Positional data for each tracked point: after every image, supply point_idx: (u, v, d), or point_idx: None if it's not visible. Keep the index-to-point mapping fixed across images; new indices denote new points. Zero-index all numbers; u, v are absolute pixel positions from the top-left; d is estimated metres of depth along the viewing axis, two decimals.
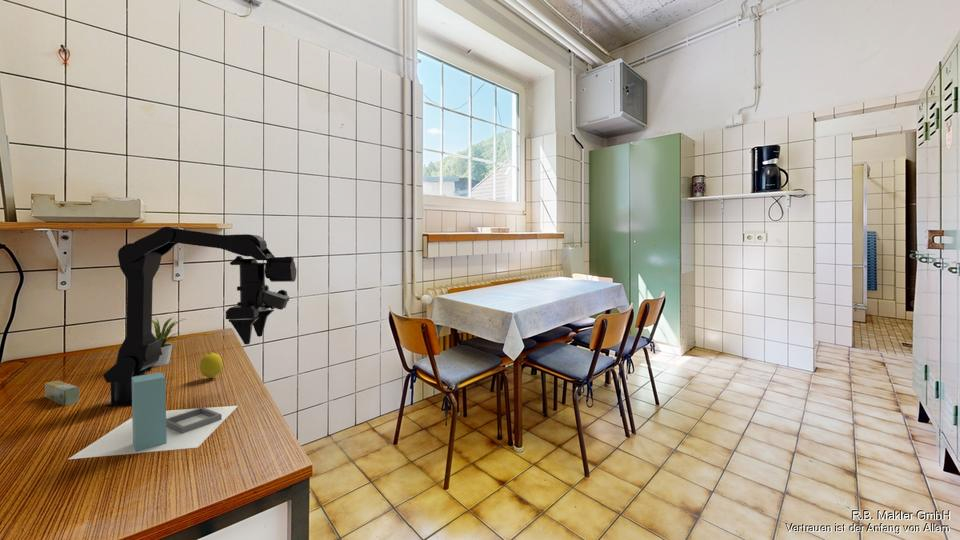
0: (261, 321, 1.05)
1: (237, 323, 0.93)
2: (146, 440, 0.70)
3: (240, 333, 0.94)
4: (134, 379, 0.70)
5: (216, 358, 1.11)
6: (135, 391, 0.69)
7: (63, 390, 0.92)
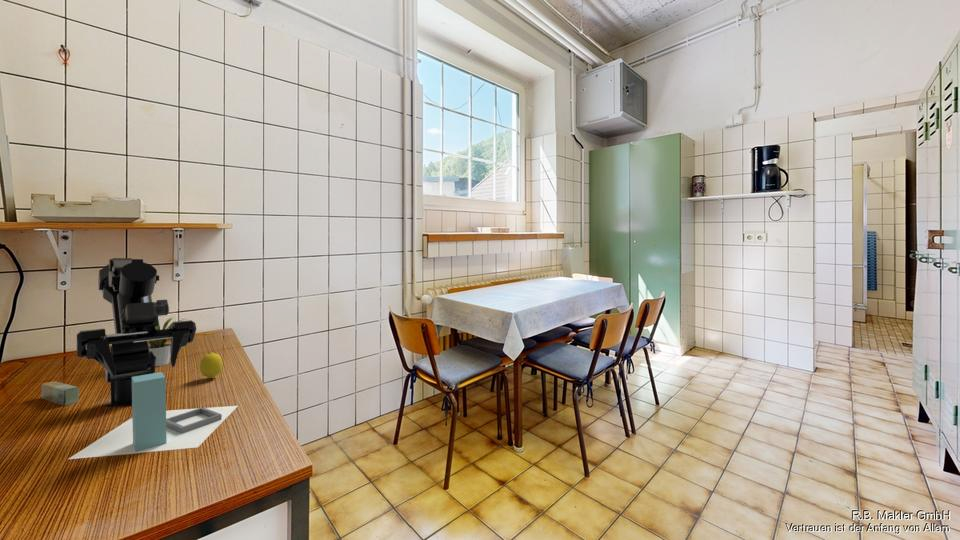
0: (171, 348, 0.82)
1: (98, 357, 0.76)
2: (146, 440, 0.70)
3: (104, 366, 0.75)
4: (134, 379, 0.70)
5: (216, 358, 1.11)
6: (135, 391, 0.69)
7: (63, 390, 0.91)
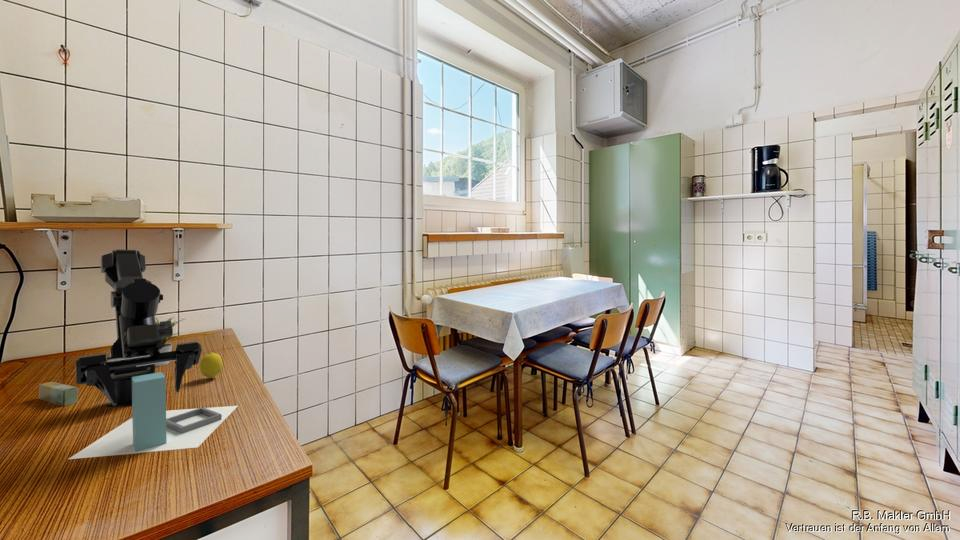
0: (176, 372, 0.78)
1: (99, 383, 0.71)
2: (146, 440, 0.70)
3: (105, 393, 0.70)
4: (134, 379, 0.70)
5: (216, 358, 1.11)
6: (135, 391, 0.69)
7: (62, 390, 0.91)
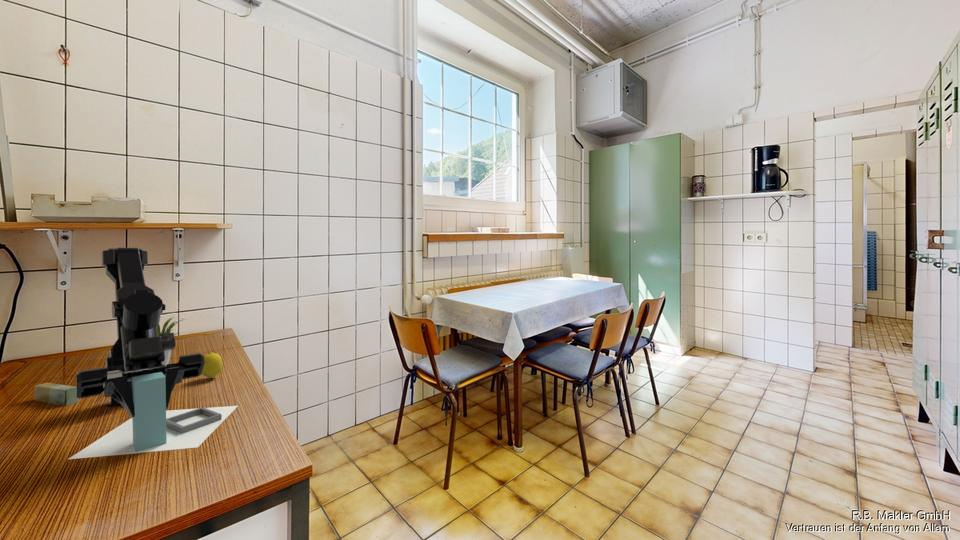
0: None
1: (116, 395, 0.71)
2: (146, 440, 0.70)
3: (123, 405, 0.70)
4: (134, 379, 0.70)
5: (216, 358, 1.11)
6: (135, 391, 0.69)
7: (63, 390, 0.91)
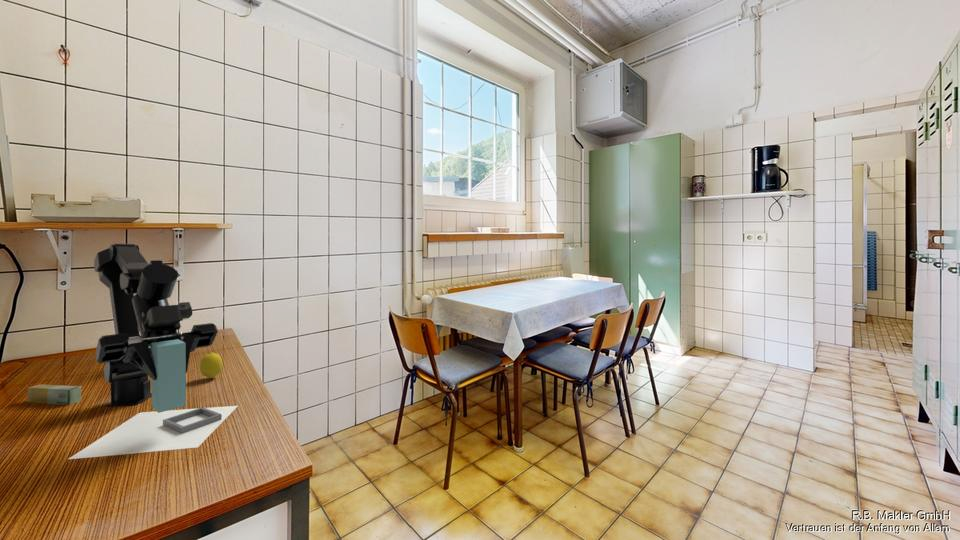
0: None
1: (136, 360, 0.74)
2: (167, 402, 0.74)
3: (144, 369, 0.74)
4: (155, 344, 0.74)
5: (216, 358, 1.11)
6: (158, 355, 0.72)
7: (65, 390, 0.92)
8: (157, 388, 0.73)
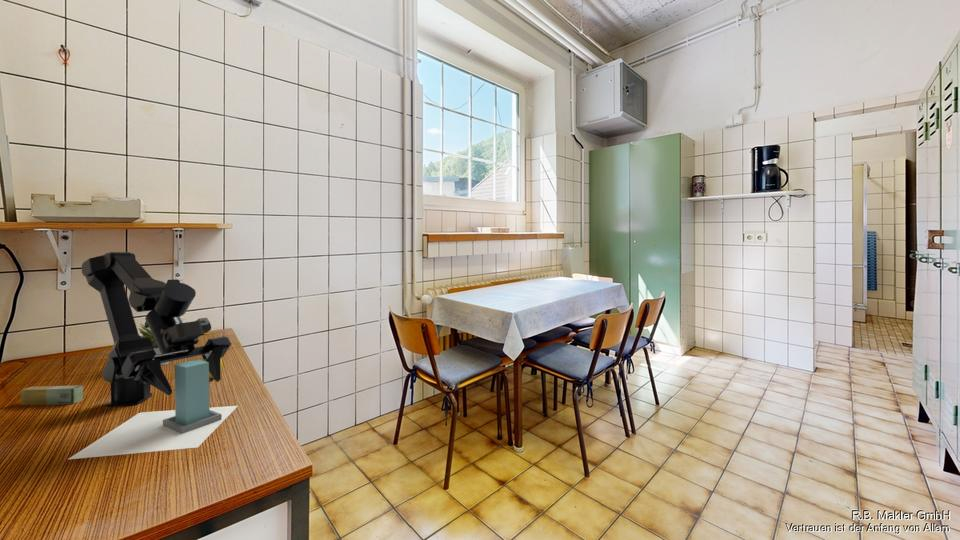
0: (212, 364, 0.86)
1: (147, 377, 0.77)
2: (194, 418, 0.80)
3: (156, 385, 0.77)
4: (181, 365, 0.79)
5: None
6: (186, 375, 0.78)
7: (68, 389, 0.92)
8: (185, 406, 0.78)
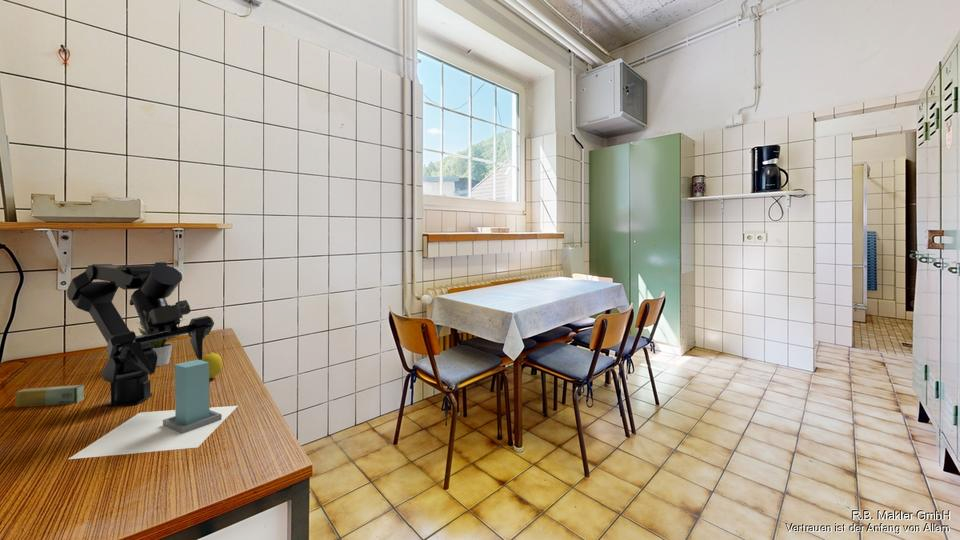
0: (195, 344, 0.90)
1: (130, 357, 0.82)
2: (194, 418, 0.80)
3: (139, 365, 0.82)
4: (181, 365, 0.79)
5: (216, 358, 1.11)
6: (186, 375, 0.78)
7: (71, 389, 0.93)
8: (185, 406, 0.78)
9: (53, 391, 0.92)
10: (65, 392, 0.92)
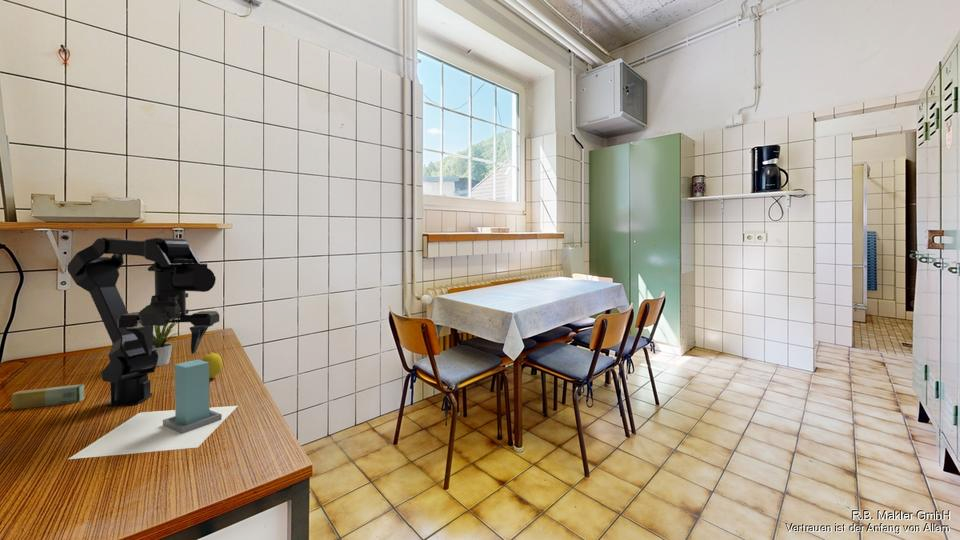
0: None
1: None
2: (194, 418, 0.80)
3: None
4: (181, 365, 0.79)
5: (216, 358, 1.11)
6: (186, 375, 0.78)
7: (73, 388, 0.93)
8: (185, 406, 0.78)
9: (53, 391, 0.92)
10: (67, 392, 0.92)
